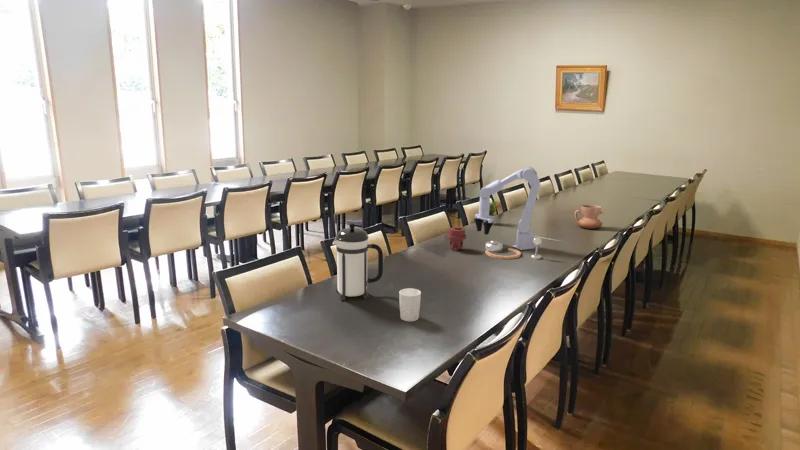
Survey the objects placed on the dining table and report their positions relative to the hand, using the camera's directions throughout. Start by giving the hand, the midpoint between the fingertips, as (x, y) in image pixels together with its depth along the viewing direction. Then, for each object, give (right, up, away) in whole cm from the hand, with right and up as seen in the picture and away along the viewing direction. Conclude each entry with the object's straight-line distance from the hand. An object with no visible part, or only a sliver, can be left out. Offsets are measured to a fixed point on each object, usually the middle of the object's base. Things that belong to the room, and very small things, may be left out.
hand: (482, 232), depth 286 cm
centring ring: (+9, -11, -18) cm, 23 cm away
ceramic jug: (+75, +2, +45) cm, 88 cm away
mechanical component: (-16, -9, -9) cm, 21 cm away
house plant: (+13, +5, +52) cm, 54 cm away
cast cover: (+5, -9, -9) cm, 13 cm away
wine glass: (+24, -13, -22) cm, 35 cm away
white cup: (-43, -30, -98) cm, 111 cm away
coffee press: (-64, -24, -77) cm, 103 cm away
